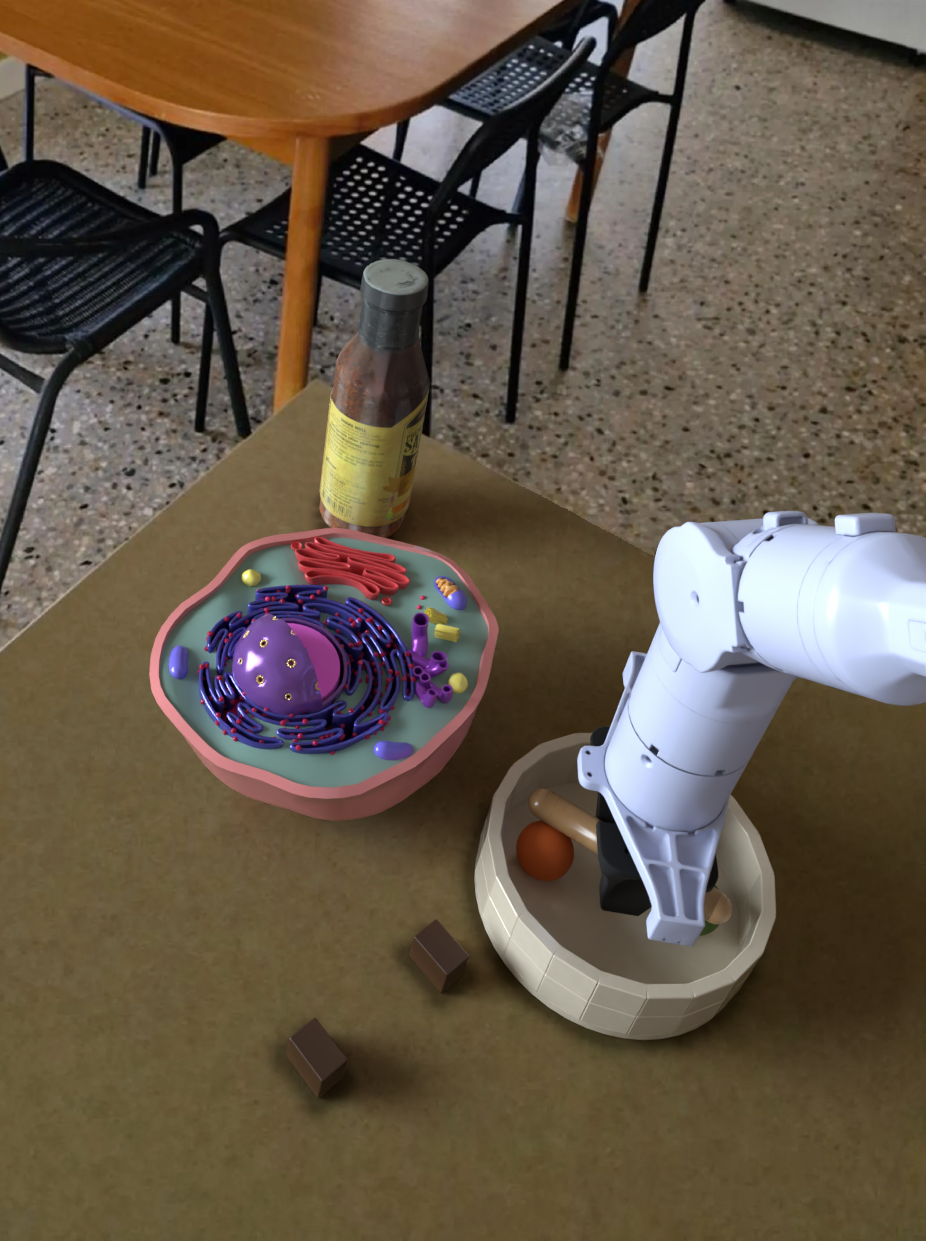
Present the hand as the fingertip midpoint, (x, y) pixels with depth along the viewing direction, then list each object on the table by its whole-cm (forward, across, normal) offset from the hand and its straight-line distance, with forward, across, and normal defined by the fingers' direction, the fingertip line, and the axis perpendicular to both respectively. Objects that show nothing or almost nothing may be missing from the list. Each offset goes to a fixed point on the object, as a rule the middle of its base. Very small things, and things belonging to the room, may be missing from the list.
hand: (617, 873), depth 65 cm
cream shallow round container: (+2, 0, 0) cm, 2 cm away
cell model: (+2, -7, -16) cm, 18 cm away
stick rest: (+2, +8, -12) cm, 15 cm away
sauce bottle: (+3, -26, -15) cm, 30 cm away
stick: (-1, 0, 0) cm, 1 cm away
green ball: (0, +1, +4) cm, 4 cm away
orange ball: (0, -1, -4) cm, 4 cm away
